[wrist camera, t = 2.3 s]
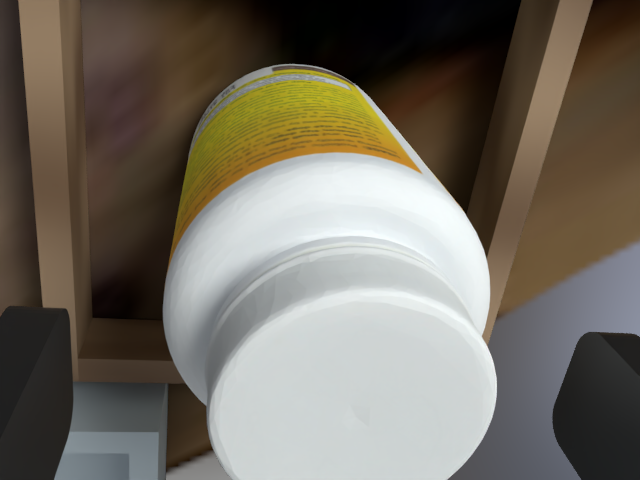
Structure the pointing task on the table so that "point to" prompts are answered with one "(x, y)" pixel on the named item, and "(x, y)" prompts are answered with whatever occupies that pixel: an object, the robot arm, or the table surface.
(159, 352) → the corral
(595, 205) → the table surface
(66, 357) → the robot arm
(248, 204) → the supplement bottle
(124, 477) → the bin
